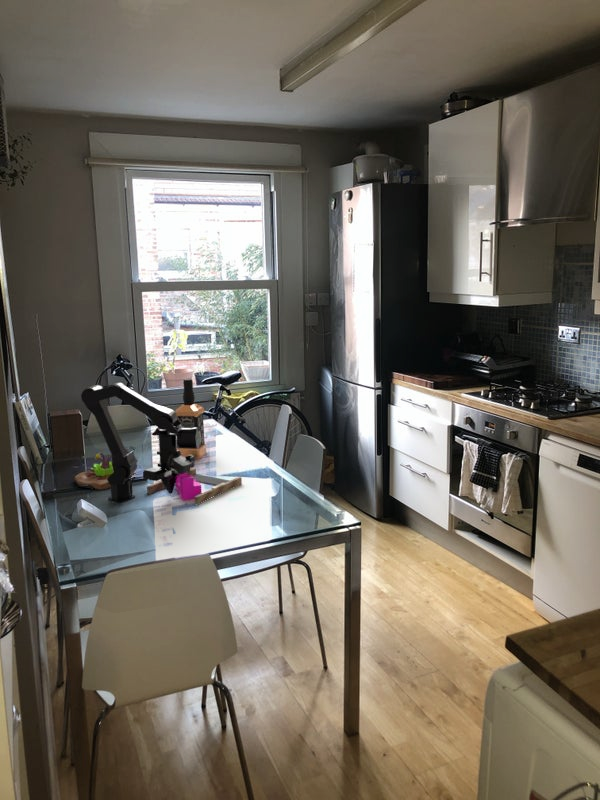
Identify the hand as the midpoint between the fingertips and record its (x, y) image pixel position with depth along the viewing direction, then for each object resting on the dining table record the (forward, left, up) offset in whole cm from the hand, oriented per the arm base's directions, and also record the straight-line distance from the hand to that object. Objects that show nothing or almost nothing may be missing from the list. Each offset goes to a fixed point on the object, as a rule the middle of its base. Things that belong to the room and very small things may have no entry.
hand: (170, 493), depth 216 cm
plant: (+3, +36, -3) cm, 36 cm away
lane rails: (+12, 0, -2) cm, 13 cm away
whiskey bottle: (+43, +29, -2) cm, 52 cm away
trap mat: (+21, 0, -2) cm, 21 cm away
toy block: (+8, 0, -2) cm, 8 cm away
